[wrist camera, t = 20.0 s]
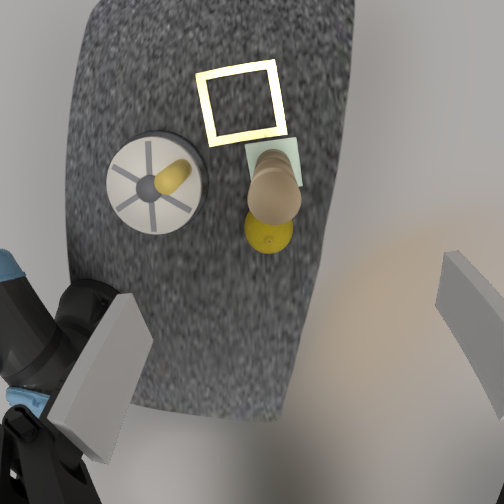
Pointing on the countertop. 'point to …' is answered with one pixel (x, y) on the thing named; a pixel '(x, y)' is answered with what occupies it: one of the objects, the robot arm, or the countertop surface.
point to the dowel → (274, 189)
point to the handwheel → (154, 184)
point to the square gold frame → (246, 135)
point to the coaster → (280, 144)
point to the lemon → (267, 234)
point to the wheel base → (195, 154)
